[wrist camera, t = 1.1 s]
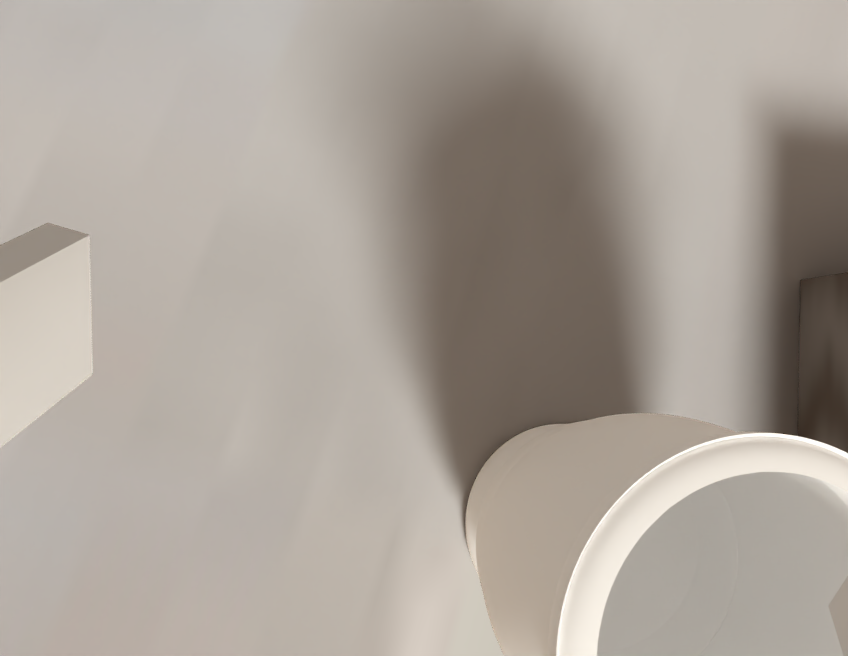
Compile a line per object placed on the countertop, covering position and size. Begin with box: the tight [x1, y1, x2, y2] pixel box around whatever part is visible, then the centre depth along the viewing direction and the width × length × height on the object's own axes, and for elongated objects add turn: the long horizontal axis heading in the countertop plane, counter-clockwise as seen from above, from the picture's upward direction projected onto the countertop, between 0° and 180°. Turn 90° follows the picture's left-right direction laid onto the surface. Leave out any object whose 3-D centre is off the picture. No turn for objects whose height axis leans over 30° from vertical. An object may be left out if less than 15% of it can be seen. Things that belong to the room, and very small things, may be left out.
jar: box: [466, 413, 848, 656], centre depth 25 cm, size 11×10×15 cm
